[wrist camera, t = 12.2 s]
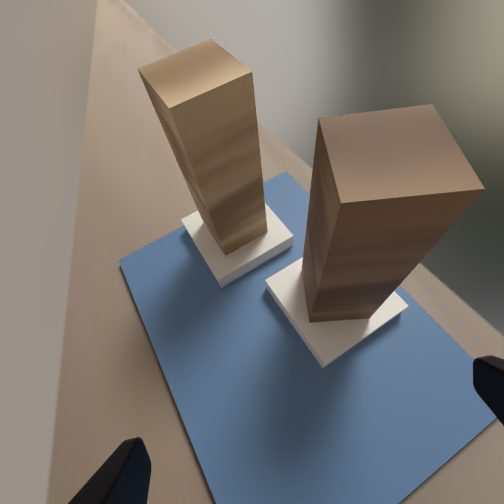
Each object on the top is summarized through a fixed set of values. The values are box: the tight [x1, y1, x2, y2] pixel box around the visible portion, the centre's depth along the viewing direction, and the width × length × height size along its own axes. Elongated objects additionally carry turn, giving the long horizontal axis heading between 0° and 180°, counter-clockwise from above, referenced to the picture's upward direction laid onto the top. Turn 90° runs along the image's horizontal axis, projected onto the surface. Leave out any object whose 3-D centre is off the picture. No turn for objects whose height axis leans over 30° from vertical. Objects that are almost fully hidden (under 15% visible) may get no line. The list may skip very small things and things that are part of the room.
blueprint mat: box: [119, 171, 497, 504], centre depth 20 cm, size 24×18×2 cm
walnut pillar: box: [302, 104, 484, 323], centre depth 14 cm, size 4×4×12 cm
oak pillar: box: [138, 39, 268, 256], centre depth 18 cm, size 4×4×12 cm
